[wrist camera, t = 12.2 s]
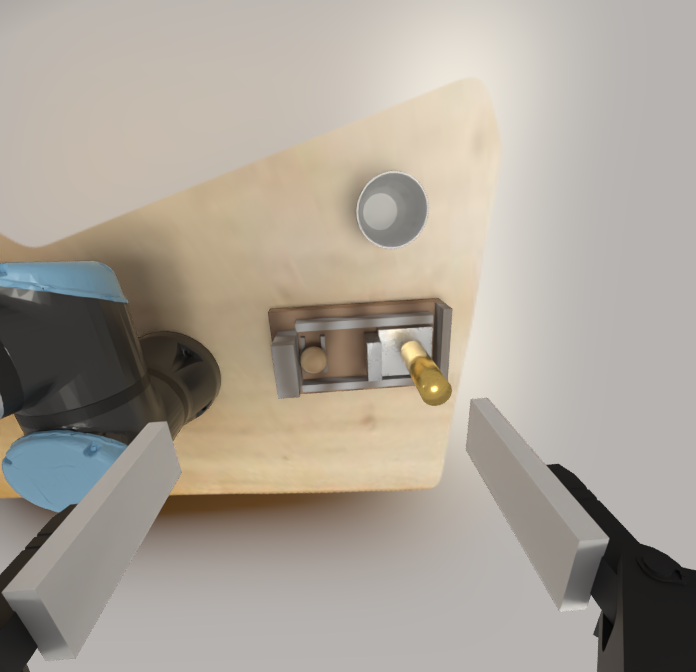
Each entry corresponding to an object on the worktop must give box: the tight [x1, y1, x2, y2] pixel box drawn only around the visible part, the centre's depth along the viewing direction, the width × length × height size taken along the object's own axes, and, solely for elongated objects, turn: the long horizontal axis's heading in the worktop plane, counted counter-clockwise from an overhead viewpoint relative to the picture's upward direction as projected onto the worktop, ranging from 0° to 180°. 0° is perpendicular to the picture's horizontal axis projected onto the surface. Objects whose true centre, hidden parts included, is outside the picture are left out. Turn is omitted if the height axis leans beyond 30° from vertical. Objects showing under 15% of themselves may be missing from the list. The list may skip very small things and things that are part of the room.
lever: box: [364, 323, 452, 406], centre depth 44 cm, size 10×8×14 cm
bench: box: [268, 298, 452, 399], centre depth 49 cm, size 26×14×8 cm, turn 93°
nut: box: [300, 346, 327, 373], centre depth 48 cm, size 4×4×4 cm
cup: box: [356, 171, 429, 249], centre depth 41 cm, size 8×8×10 cm
